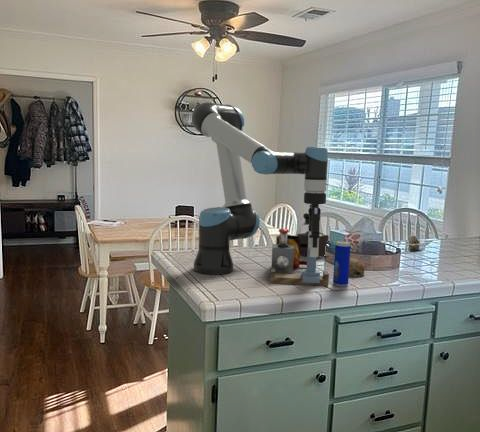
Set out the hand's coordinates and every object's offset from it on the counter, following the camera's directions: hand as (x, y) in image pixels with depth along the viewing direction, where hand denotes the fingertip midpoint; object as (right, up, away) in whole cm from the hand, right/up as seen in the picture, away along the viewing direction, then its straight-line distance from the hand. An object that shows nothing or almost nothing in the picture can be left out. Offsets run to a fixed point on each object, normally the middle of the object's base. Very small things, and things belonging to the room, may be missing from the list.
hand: (312, 253), depth 168 cm
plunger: (-9, +1, +14) cm, 17 cm away
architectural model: (+61, -4, +70) cm, 93 cm away
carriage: (-1, -11, +2) cm, 11 cm away
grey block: (-9, -8, +15) cm, 20 cm away
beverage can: (+10, -11, +1) cm, 15 cm away
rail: (-5, -10, +2) cm, 12 cm away
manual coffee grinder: (+6, -5, +52) cm, 52 cm away
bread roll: (+17, -10, +17) cm, 26 cm away
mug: (-4, -8, +26) cm, 27 cm away
